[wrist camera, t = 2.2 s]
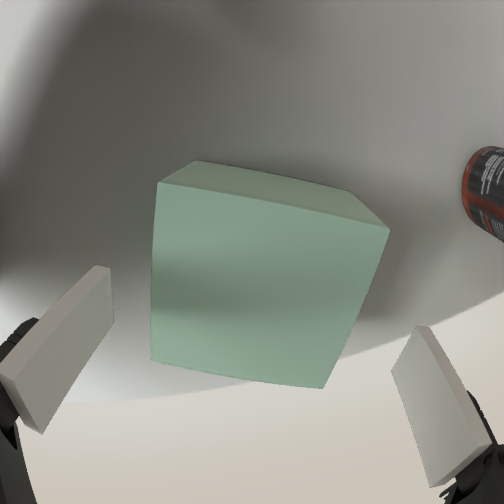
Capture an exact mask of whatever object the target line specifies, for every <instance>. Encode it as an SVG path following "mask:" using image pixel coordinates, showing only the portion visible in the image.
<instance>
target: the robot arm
mask: <svg viewBox="0 0 504 504" xmlns="http://www.w3.org/2000/svg"><path fill="white" fill-rule="evenodd" d="M113 323H114V313H113V299H112V280H111V269H110V268H106V267H102V266H98V265H95V266H94V267H93V268H92V269H90V270H89V271H88V272H87V273H86V274H85V275H84V276H83V277H82V278H81V279H80V280H79V281H78V282H77V283H76V284H75V285H74V286H73V287H71V288H70V289H69V290H68V291H67V292H66V293H65V294H64V295H63V296H62V297H61V298H60V299H59V300H58V301H57V302H56V303H55V304H54V305H53V306H52V307H51V308H50V309H49V310H48V311H47V312H46V313H45V315H44V316H43V317H42V318H41V319H40V320H39V319H37V318H34V317H33V318H31V319H29V320H27V321H25V322H23V323H22V324H21V325H20V326H19V327H18V328H17V329H16V330H15V331H14V333H13V334H11V335H10V336H9V337H8V338H7V341H4V343H3V344H2V345H1V346H0V504H37V502H36V499H35V496H34V493H33V490H32V487H31V483H30V480H29V476H28V472H27V469H26V465H25V461H24V457H23V452H22V448H21V443H20V438H19V433H18V427H17V425H16V422H15V421H16V419H17V418H18V416H20V418H21V419H22V421H23V423H24V424H25V425H26V426H27V427H29V428H31V429H33V430H35V431H36V432H39V433H40V434H43V433H44V431H45V429H46V427H47V426H48V424H49V422H50V421H51V419H52V417H53V416H54V414H55V412H56V411H57V409H58V407H59V406H60V404H61V402H62V401H63V399H64V397H65V396H66V394H67V393H68V391H69V389H70V388H71V386H72V385H73V383H74V381H75V380H76V378H77V377H78V375H79V374H80V372H81V370H82V369H83V367H84V366H85V364H86V363H87V361H88V360H89V358H90V357H91V355H92V354H93V352H94V351H95V349H96V348H97V346H98V345H99V343H100V342H101V340H102V339H103V337H104V336H105V335H106V333H107V332H108V330H109V329H110V327H111V326H112V324H113ZM391 372H392V375H393V377H394V380H395V383H396V385H397V388H398V391H399V393H400V396H401V399H402V402H403V404H404V407H405V410H406V413H407V416H408V419H409V422H410V425H411V428H412V431H413V433H414V437H415V440H416V443H417V446H418V449H419V453H420V456H421V459H422V462H423V466H424V469H425V473H426V476H427V480H428V483H429V487H430V488H432V487H436V486H440V485H444V484H446V483H447V482H448V481H450V480H451V479H452V478H454V477H455V478H456V481H457V482H455V483H454V484H453V485H451V486H450V487H449V488H447V489H446V490H445V491H443V492H442V493H441V494H440V496H439V497H442V496H444V495H445V494H447V493H448V492H449V494H448V496H446V497H445V498H444V499H445V500H446V501H445V503H444V504H504V444H502V445H498V443H497V441H496V439H495V437H494V435H493V433H492V431H491V429H490V426H489V425H488V422H487V420H486V418H484V414H483V412H482V411H481V410H480V407H479V405H478V403H477V401H476V399H475V398H474V397H473V396H472V395H471V394H470V392H469V391H466V389H465V387H464V385H463V384H462V382H461V380H460V378H459V376H458V375H457V373H456V371H455V369H454V368H453V366H452V364H451V362H450V361H449V359H448V357H447V356H446V354H445V352H444V351H443V349H442V347H441V346H440V344H439V342H438V341H437V339H436V338H435V336H434V334H433V333H432V331H431V329H430V328H429V327H423V326H416V327H415V329H414V331H413V333H412V335H411V337H410V339H409V340H408V342H407V344H406V346H405V348H404V349H403V351H402V353H401V355H400V356H399V358H398V360H397V362H396V363H395V365H394V366H393V368H392V370H391Z"/></svg>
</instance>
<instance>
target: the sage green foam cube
mask: <svg viewBox="0 0 504 504" xmlns="http://www.w3.org/2000/svg"><path fill="white" fill-rule="evenodd" d="M390 230H391V229H390V228H389V227H388V226H387V225H386V224H385V223H384V222H383V221H382V220H381V219H380V218H378V217H377V216H376V215H375V214H374V213H373V212H372V211H371V210H370V209H369V208H368V207H367V206H366V205H364V204H363V203H362V202H361V201H360V200H359V199H358V198H357V197H356V196H354V195H353V194H352V193H351V192H350V191H346V190H342V189H338V188H334V187H330V186H325V185H321V184H317V183H313V182H308V181H304V180H299V179H295V178H290V177H285V176H281V175H276V174H271V173H266V172H261V171H256V170H250V169H245V168H239V167H234V166H228V165H222V164H216V163H210V162H204V161H197V160H195V161H193V162H192V163H190V164H188V165H186V166H184V167H183V168H181V169H179V170H177V171H176V172H174V173H172V174H171V175H169V176H167V177H166V178H164V179H162V180H161V181H159V182H158V183H157V193H156V204H155V216H154V230H153V247H152V269H151V360H153V361H157V362H161V363H165V364H169V365H173V366H178V367H182V368H187V369H191V370H196V371H201V372H206V373H211V374H216V375H222V376H227V377H233V378H239V379H245V380H251V381H258V382H265V383H272V384H280V385H289V386H299V387H307V388H318V389H323V388H324V386H325V384H326V381H327V380H328V378H329V376H330V374H331V372H332V370H333V368H334V366H335V364H336V362H337V360H338V358H339V356H340V354H341V352H342V350H343V347H344V345H345V343H346V341H347V339H348V337H349V335H350V332H351V330H352V328H353V326H354V323H355V321H356V319H357V317H358V314H359V312H360V310H361V307H362V305H363V302H364V300H365V298H366V295H367V293H368V290H369V288H370V285H371V283H372V280H373V278H374V275H375V272H376V270H377V267H378V264H379V262H380V259H381V256H382V253H383V251H384V248H385V245H386V242H387V239H388V236H389V233H390Z"/></svg>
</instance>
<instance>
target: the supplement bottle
mask: <svg viewBox="0 0 504 504" xmlns="http://www.w3.org/2000/svg"><path fill="white" fill-rule="evenodd" d="M462 200H463V205H464V207H465V210H466V212H467V214H468V216H469V217H470V219H471V220H472V221H473V222H474V223H475V224H476V225H478V226H479V227H481V228H482V229H484V230H485V231H487V232H489V233H490V234H492V235H493V236H495V237H496V238H498V239H499V240H501V241H502V242H504V148H499V147H493V146H491V147H484V148H482V149H480V150H479V151H477V152H476V153H475V154H474V155H473V156H472V158H471V159H470V161H469V162H468V164H467V166H466V168H465V172H464V175H463V180H462Z"/></svg>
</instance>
